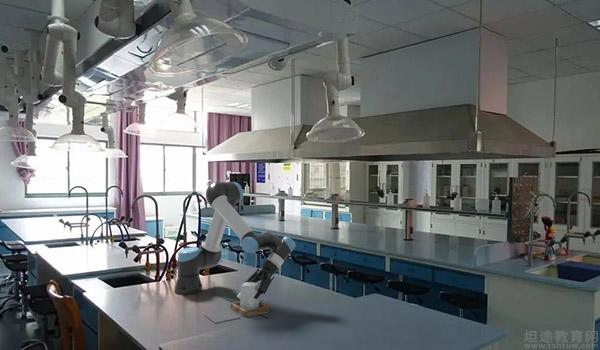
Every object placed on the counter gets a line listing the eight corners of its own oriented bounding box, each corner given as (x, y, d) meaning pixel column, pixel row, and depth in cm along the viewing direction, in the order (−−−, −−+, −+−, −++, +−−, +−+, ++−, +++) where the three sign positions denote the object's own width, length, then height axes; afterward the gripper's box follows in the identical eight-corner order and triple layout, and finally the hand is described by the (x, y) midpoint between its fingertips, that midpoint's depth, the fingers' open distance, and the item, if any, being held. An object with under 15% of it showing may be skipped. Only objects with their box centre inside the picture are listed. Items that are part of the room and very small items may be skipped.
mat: (204, 315, 188) (204, 315, 188) (228, 311, 195) (228, 310, 195) (215, 323, 178) (215, 322, 178) (239, 318, 185) (240, 317, 185)
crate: (230, 308, 199) (230, 303, 199) (254, 304, 206) (254, 298, 206) (244, 317, 186) (244, 311, 186) (269, 312, 194) (269, 306, 194)
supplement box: (254, 313, 192) (254, 286, 192) (239, 312, 193) (239, 285, 194) (259, 308, 199) (259, 282, 199) (244, 307, 201) (245, 281, 201)
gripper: (289, 273, 196) (260, 311, 187) (265, 264, 215) (238, 299, 205) (280, 263, 193) (250, 302, 184) (256, 255, 212) (228, 290, 202)
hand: (244, 300), depth 195 cm, fingers open, 10 cm apart
